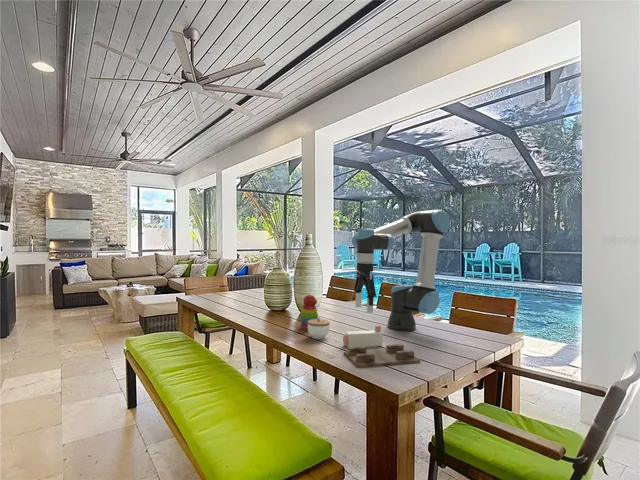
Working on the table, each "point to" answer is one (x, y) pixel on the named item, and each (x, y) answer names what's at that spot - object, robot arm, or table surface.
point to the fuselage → (363, 338)
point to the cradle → (380, 356)
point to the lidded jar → (318, 328)
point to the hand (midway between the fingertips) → (363, 309)
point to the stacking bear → (308, 311)
